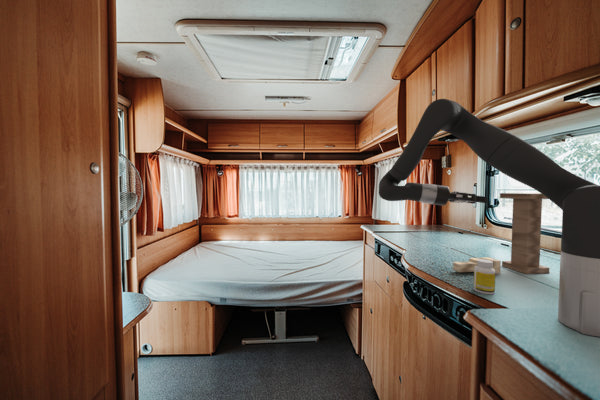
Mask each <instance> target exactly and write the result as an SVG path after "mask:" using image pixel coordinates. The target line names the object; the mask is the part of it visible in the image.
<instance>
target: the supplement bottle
mask: <svg viewBox="0 0 600 400" xmlns="http://www.w3.org/2000/svg"><path fill="white" fill-rule="evenodd" d="M477 265H478V266H476V267H475V268H474V272H473V290H474V291H476V292H477V293H480V294H483V295H494V294H495V292H496V291H495V290H496V274H495V270H494V269H493V268H492V267H493V262H492V261H489V260H483V259H478V260H477Z"/></svg>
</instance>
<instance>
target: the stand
mask: <svg viewBox="0 0 600 400" xmlns="http://www.w3.org/2000/svg"><path fill="white" fill-rule="evenodd" d="M499 198H500V199H512V218H511V219H512V222H511V223H512V225H511V226H512V227H511V250H510V253H511V254H510V260H505V261H504V260H502V261H501V266H502V267H504V268H507V267H508V268H507V269H510V270H512V271H517V272H520V273H523V274H526V275H533V274H534V275H535V274H536V273H538V274H550V267H547V266H544V265H540V257H541V234H542V233H541V232H542V211H543V209H542V208H543V207H542V206H543V200H549V199H548V198H547V197H546V196H544V195H543V194H541V193H540V192H539V193H537V192H536V193H535V192H534V193H533V192H532V193H529V192H527V193H525V192H520V193H519V192H517V193H516V192H513V193H512V192H511V193H510V192H509V193H507V192H504V193H503V192H502V193H499Z"/></svg>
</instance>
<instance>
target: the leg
mask: <svg viewBox="0 0 600 400" xmlns="http://www.w3.org/2000/svg"><path fill="white" fill-rule="evenodd" d="M478 259H483V260H489V261H492V262H493V267H492V268H493V269H494V270H495V275H496V274H498V275H499V274H501V266H502V261H501V260H500V259H495V258H492V257H489V256H487V257H485V256H484V257H469V259H468V261H453V263H452V264H453V265H452V270H453V271H454V272H455V271H456V272H458V273H471V272H472V273H474V268H475V267H476V266H478V265H477V260H478Z"/></svg>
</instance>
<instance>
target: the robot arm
mask: <svg viewBox="0 0 600 400" xmlns="http://www.w3.org/2000/svg"><path fill="white" fill-rule="evenodd" d="M441 131H443V132H446V133H448V134H451V135H452V136H454V137H456V138H458V139H460V140H461V141H463V142H464V143H465V144H466V145H467V146H468V147H469V148H470V149H471V151H473V152H474V154H475V155H476V156H478V158H479V159H481V160H482V161H483V162H485V163H486V164H488V165H489V166H491V168H492V167H493V169H496V170H497V171H499V172H500V173H502V174H504V175H506V176H507V177H509V178H511V179H513V180H515V181H516V182H519V183H521V184H523V185H525V186H528V187H529V188H532V189H534V190H535V191H537V192H539V193H541V194H543V195H544V196H546V197H547V198H548V199H547V200H550V201H551V202H552V203H554V204H555V205H556V206H557V207H558V208H559V209H561V211H562V219H561V220H562V221H561V237H560V238H561V239H560V263H559V284H558V285H559V286H558V310H557V311H558V312H557V319H558V322H560V323H561V324H563V325H565V326H566V327H568V328H571V329H573V330H575V331H577V332H579V333H580V334H583V335H588V336H593V337H599V338H600V185H599V184H596V183H594V182H592V181H589V180H587V179H585V178H583V177H580V176H578V175H576V174H575V173H573V172H570V171H568V170H567V169H565V168H564V167H562V166H561V165H559V164H557V163H556V162H555V161H554V160H553V159H552V158H550V157H549V156H548V155H547V154H545V153H544V152H543V151H541V150H540V149H539V148H537V147H536V146H534V145H532V144H531V143H529V142H528V141H526V140H524V139H522V138H520V137H519V136H517V135H515V134H513V133H511V132H509V131H506V130H505V129H504V128H503V129H502V128H501V127H498V126H496V125H493V124H491V123H489V122H486V121H484V120H482V119H480V118H479V117H477V116H476V115H475V114H473V113H471V112H470V111H469V110H467V109H466V108H465V107H464V106H462V105H461V104H459V103H458V102H456V101H454V100H450V99H447V98H438V99H436V100H434V101H431V102H430V103H429V104H428V106H427V107H426V109H425V110H424V112H423V114H422V116H421V118H420V120H419V122H418V124H417V126H416V128H415V130H414V132H413V134H412V136H411V137H410V139H409V141H408V143H407V144H406V146H405V147H404V149H403V151H402V152H401V153H400V155H399V157H398V158H397V160H396V161H395V162H394V164H393V166H392V167H391V168H390V169H389V170H387V172H386V173H385V174H384V175H383V177H381V179H380V181H379V184H378V195H379V197H380V198H381V199H382V200H385V201H389V202H399V201H400V202H401V201H410V202H411V201H412V202H419V203H423V204H428V205H436V206H443V207H444V206H447V204H448V202H450V203H453V204H454V203H455V204H457V203H458V204H460V203H462V204H463V203H466V204H476V203H481V204H486V203H487V202H488V197H487V196H484V195H483V196H482V195H477V194H475V193H467V192H461V191H460V192H459V191H451V192H450V187H449V186H448V185H443V184H441V185H440V184H433V183H421V182H419V183H418V182H406V183H405V184H404V185H400V183H401V182H402V181H406V180H407V179H408V178H409V177H410V176H411V174H412V173H413V172H414V170H415V169H416V168H417V167H418V165H419V163H420V162H421V160H422V158H423V155H424V153H425V150H426V148H427V146H428V145H429V143H430V142H431V141H432V139H433V138H434V137H435V136H436V135H437V134H438V133H439V132H441Z"/></svg>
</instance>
